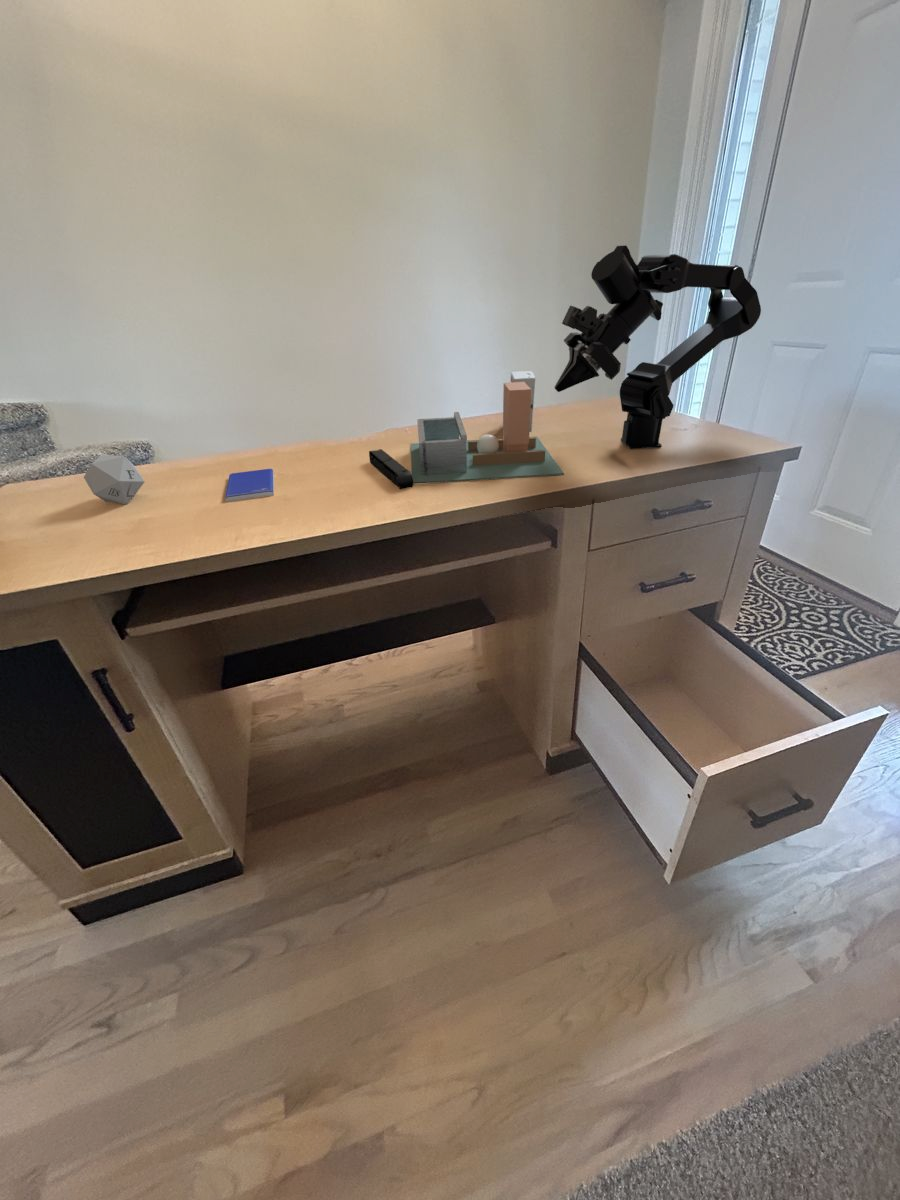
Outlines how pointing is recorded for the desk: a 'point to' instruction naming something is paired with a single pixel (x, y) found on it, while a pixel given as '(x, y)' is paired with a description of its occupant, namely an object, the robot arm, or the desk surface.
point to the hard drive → (250, 485)
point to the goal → (442, 445)
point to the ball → (488, 444)
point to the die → (113, 479)
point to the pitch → (493, 464)
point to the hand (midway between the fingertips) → (556, 390)
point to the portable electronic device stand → (391, 469)
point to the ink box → (530, 381)
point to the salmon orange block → (516, 416)
